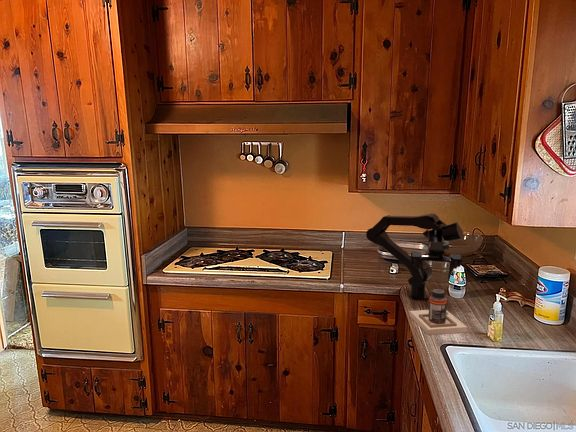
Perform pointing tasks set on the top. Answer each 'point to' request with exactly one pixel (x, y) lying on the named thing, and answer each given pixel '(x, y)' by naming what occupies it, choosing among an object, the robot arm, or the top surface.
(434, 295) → the supplement bottle
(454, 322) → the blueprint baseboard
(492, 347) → the top surface
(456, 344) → the top surface
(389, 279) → the top surface
